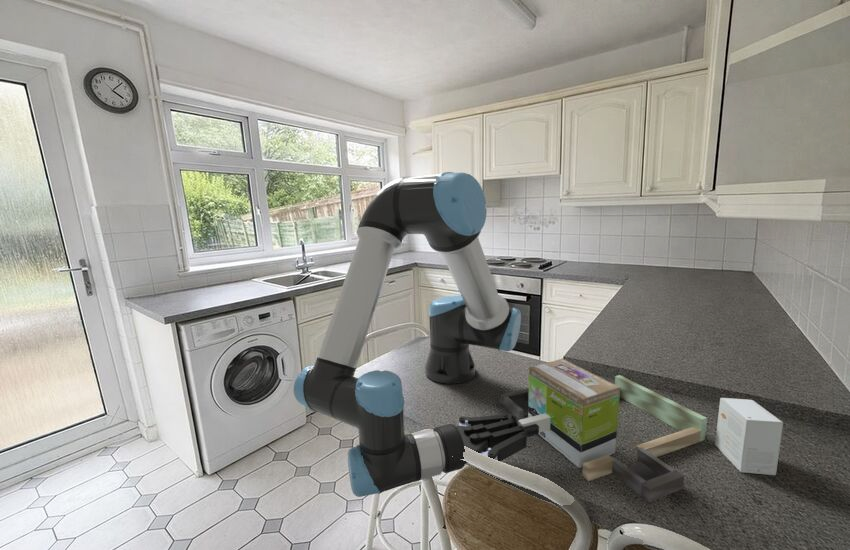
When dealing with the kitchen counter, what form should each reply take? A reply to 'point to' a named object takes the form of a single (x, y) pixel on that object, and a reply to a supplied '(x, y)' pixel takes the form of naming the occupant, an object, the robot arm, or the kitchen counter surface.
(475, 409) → the kitchen counter surface
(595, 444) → the tea box
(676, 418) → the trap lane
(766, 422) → the small box
